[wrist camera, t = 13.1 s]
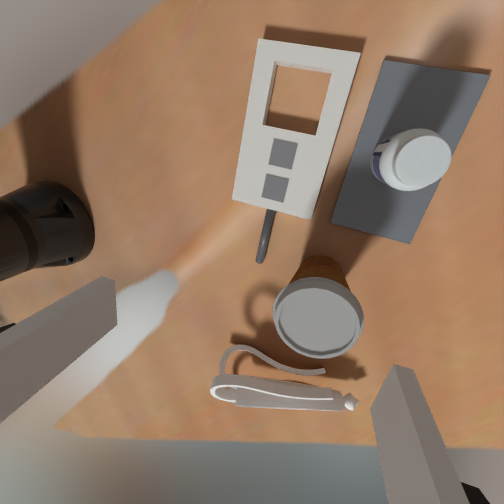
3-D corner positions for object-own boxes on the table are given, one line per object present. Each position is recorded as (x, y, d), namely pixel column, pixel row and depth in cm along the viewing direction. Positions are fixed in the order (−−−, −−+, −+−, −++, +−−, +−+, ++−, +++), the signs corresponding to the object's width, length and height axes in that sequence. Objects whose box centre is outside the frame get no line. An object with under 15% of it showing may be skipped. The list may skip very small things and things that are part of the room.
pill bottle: (401, 191, 30) (430, 206, 22) (360, 171, 31) (372, 178, 22) (433, 146, 28) (480, 143, 19) (388, 125, 29) (414, 112, 20)
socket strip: (295, 272, 38) (293, 277, 37) (226, 251, 40) (222, 255, 39) (359, 58, 28) (360, 52, 26) (261, 44, 30) (258, 38, 28)
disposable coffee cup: (320, 231, 35) (315, 264, 24) (370, 278, 36) (387, 332, 25) (274, 273, 39) (252, 319, 29) (319, 315, 40) (315, 376, 29)
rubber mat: (329, 222, 34) (329, 223, 34) (383, 61, 27) (384, 60, 27) (408, 242, 33) (409, 244, 32) (488, 76, 25) (490, 75, 25)
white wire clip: (363, 335, 37) (212, 332, 39) (377, 411, 32) (203, 402, 34) (339, 357, 51) (229, 354, 53) (347, 412, 46) (225, 406, 48)
